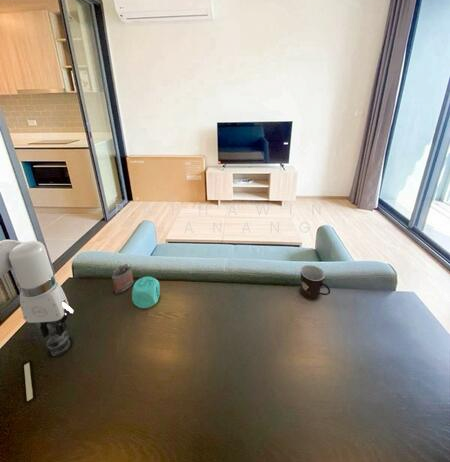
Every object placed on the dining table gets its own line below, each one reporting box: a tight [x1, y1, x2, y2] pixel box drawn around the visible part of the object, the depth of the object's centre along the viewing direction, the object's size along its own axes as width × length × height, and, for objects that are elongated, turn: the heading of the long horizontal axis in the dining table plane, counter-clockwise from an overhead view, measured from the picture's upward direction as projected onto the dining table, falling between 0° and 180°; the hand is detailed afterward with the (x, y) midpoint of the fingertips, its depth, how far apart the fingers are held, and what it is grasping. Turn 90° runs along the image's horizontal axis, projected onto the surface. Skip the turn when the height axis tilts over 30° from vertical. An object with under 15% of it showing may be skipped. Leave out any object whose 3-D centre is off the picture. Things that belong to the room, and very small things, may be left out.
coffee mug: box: [300, 264, 331, 300], centre depth 92 cm, size 12×9×10 cm
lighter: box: [111, 263, 135, 295], centre depth 98 cm, size 8×3×10 cm, turn 144°
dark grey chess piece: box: [45, 321, 71, 356], centre depth 74 cm, size 6×6×12 cm
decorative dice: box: [131, 276, 161, 309], centre depth 92 cm, size 8×8×8 cm
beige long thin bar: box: [23, 362, 34, 402], centre depth 67 cm, size 12×1×1 cm, turn 41°
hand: (55, 331), depth 74 cm, fingers closed on dark grey chess piece, 3 cm apart
